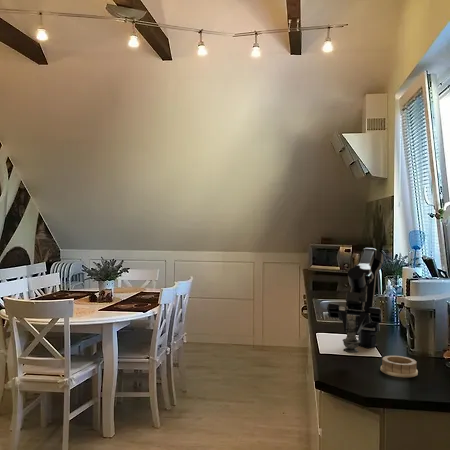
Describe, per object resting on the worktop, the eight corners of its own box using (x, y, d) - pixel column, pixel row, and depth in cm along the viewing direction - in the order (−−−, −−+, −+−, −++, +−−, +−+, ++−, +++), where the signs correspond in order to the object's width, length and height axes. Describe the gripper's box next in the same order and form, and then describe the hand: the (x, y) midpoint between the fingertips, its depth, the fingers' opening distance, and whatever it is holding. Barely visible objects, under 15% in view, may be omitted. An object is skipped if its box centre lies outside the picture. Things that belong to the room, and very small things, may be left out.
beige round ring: (373, 369, 174) (373, 357, 173) (395, 364, 180) (396, 353, 180) (402, 379, 163) (402, 367, 163) (425, 374, 170) (425, 362, 170)
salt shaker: (346, 347, 180) (347, 314, 179) (362, 350, 176) (363, 316, 176) (339, 350, 175) (340, 316, 175) (355, 354, 172) (356, 319, 171)
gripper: (329, 280, 182) (320, 316, 173) (382, 285, 175) (376, 323, 165) (333, 299, 190) (325, 334, 180) (384, 304, 182) (379, 341, 172)
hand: (350, 333), depth 174 cm, fingers closed on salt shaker, 4 cm apart
